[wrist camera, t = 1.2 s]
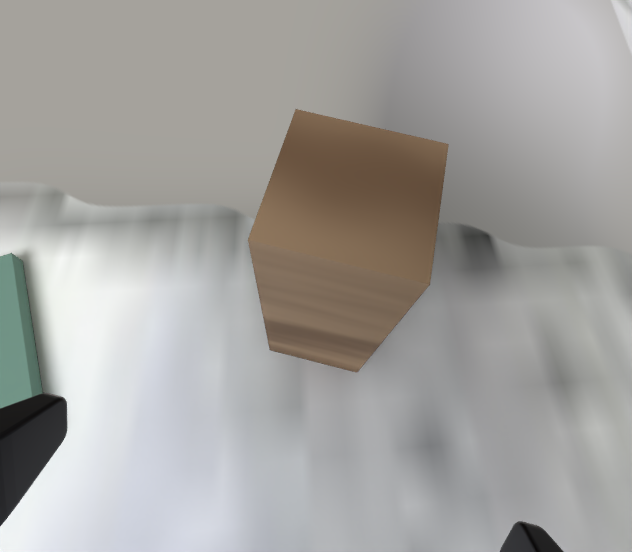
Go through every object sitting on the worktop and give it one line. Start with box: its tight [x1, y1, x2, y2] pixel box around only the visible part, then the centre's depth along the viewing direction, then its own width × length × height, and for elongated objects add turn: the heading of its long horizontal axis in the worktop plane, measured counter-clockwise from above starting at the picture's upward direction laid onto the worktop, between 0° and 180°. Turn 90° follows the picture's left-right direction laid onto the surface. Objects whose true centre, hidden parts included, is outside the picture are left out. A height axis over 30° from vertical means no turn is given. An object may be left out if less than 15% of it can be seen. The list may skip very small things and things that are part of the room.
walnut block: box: [248, 109, 448, 372], centre depth 17 cm, size 5×5×12 cm
